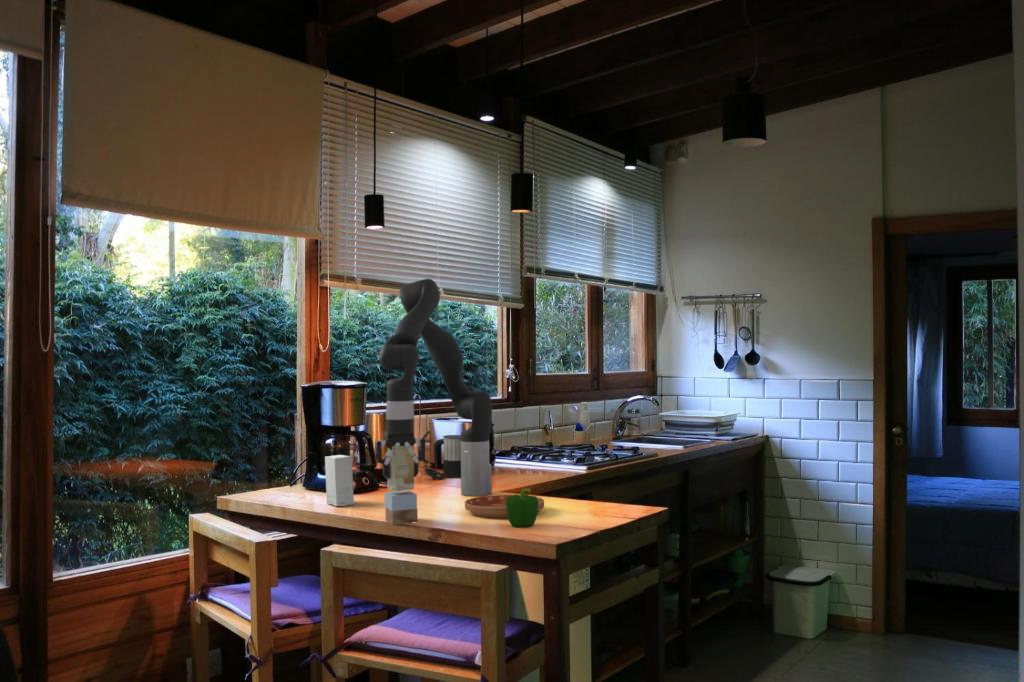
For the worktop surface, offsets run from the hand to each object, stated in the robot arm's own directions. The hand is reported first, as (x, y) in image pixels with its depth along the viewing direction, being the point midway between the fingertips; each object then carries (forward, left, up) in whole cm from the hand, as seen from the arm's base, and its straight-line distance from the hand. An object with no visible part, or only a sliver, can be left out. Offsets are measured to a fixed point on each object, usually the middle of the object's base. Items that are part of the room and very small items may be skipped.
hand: (400, 477), depth 251 cm
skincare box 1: (+10, -34, -12) cm, 37 cm away
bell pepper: (-28, +19, -12) cm, 36 cm away
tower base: (0, 0, -12) cm, 12 cm away
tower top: (0, 0, -8) cm, 8 cm away
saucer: (-31, -1, -13) cm, 33 cm away
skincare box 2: (0, 0, -4) cm, 4 cm away
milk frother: (-37, -73, -12) cm, 82 cm away
